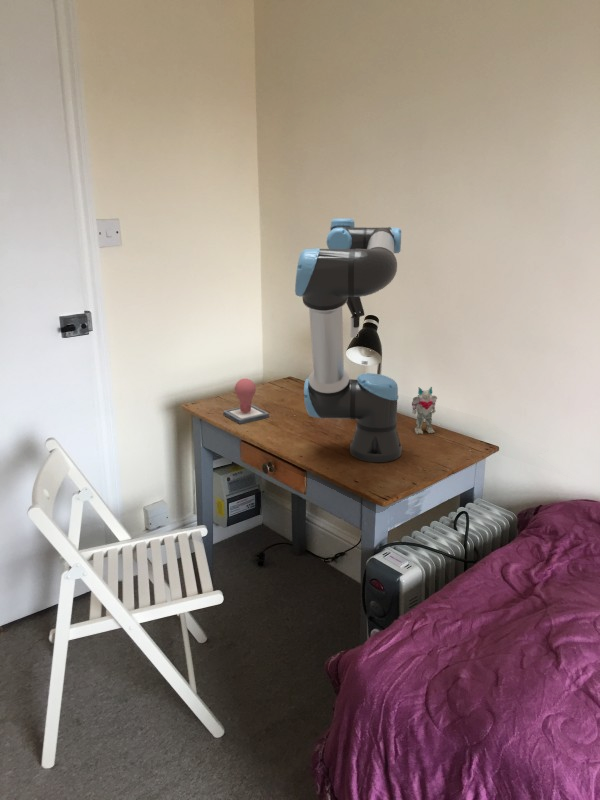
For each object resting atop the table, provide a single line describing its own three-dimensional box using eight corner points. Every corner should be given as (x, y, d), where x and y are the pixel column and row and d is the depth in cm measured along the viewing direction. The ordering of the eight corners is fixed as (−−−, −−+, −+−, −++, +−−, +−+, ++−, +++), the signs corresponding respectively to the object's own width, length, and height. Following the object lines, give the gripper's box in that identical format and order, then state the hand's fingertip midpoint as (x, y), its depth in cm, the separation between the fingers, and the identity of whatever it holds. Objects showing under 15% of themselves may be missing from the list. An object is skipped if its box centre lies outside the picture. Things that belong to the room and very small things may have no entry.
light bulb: (253, 416, 220) (252, 382, 216) (233, 415, 221) (231, 381, 217) (258, 409, 226) (257, 376, 222) (239, 408, 228) (237, 375, 224)
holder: (269, 417, 223) (269, 413, 222) (240, 424, 216) (239, 420, 216) (251, 408, 232) (251, 404, 231) (223, 415, 225) (223, 410, 225)
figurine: (406, 432, 209) (408, 387, 204) (416, 424, 215) (418, 381, 210) (430, 436, 205) (433, 391, 200) (439, 429, 211) (442, 385, 206)
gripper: (376, 271, 201) (374, 338, 208) (327, 263, 220) (327, 325, 227) (358, 273, 197) (356, 341, 204) (309, 265, 216) (309, 328, 223)
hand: (341, 333), depth 216 cm, fingers open, 13 cm apart
